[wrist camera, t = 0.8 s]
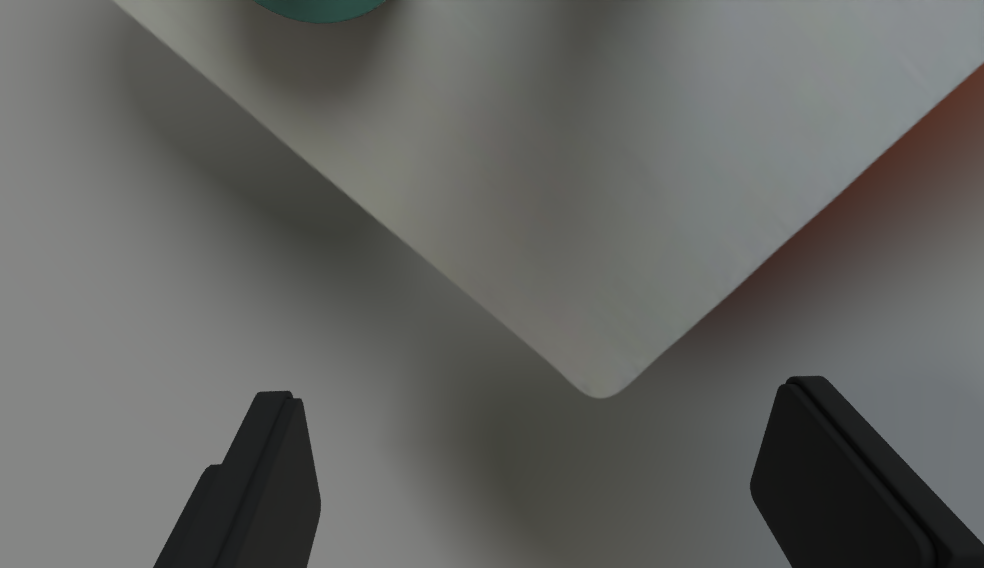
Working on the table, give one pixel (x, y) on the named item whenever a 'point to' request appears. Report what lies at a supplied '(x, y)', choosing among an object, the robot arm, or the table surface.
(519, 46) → the table surface
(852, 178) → the table surface
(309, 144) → the table surface
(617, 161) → the table surface
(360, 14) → the lid
